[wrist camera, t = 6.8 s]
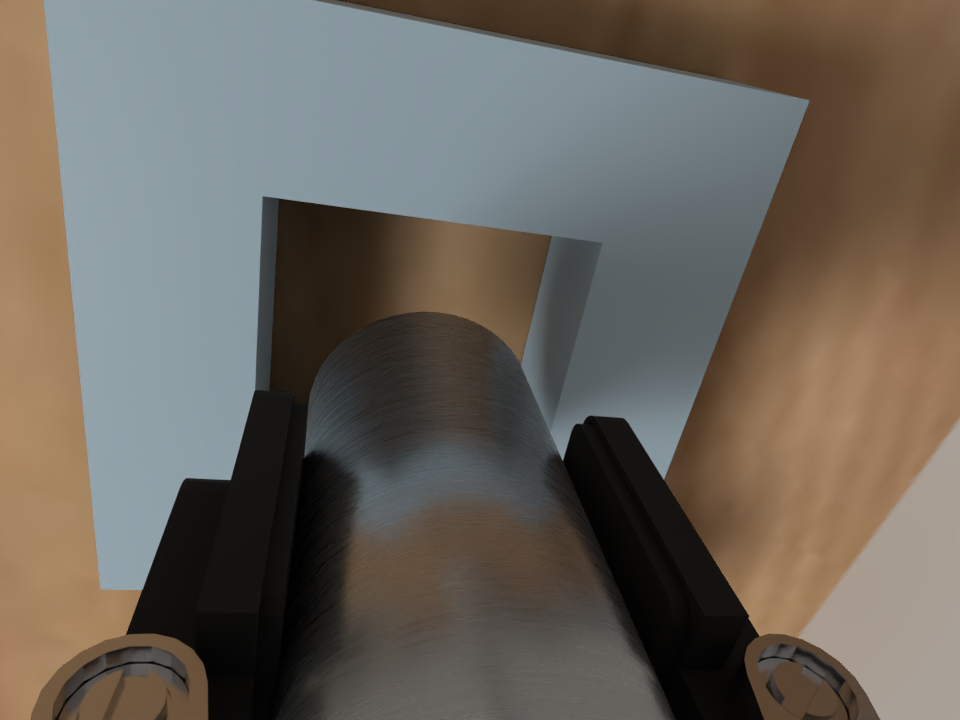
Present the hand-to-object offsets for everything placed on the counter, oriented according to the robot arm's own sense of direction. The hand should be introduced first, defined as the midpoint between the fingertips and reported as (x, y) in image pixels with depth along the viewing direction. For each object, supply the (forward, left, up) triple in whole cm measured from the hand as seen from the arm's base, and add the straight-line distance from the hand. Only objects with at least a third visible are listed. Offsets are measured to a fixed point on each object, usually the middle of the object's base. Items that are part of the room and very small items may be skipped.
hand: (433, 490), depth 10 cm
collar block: (0, 0, -6) cm, 6 cm away
